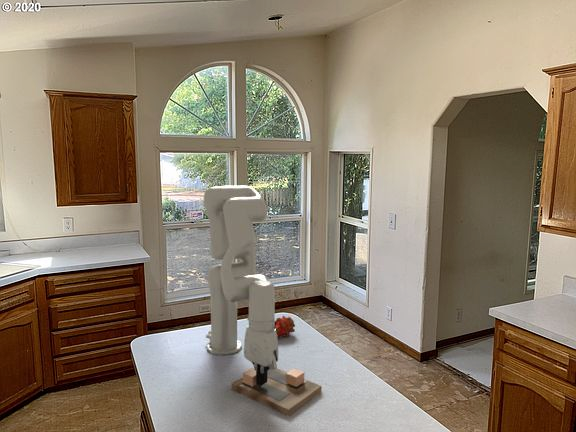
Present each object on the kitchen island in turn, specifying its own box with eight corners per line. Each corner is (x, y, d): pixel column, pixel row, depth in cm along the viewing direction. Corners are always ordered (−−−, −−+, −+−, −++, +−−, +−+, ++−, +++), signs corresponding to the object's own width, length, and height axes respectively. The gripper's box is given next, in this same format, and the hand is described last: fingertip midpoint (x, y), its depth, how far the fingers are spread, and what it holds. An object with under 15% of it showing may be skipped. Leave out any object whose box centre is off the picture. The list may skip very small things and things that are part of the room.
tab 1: (242, 382, 130) (242, 372, 130) (251, 377, 133) (251, 367, 133) (252, 386, 128) (252, 377, 127) (261, 381, 131) (261, 371, 131)
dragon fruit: (294, 335, 176) (275, 349, 167) (280, 320, 179) (261, 332, 170) (303, 322, 171) (284, 336, 162) (288, 307, 174) (269, 319, 165)
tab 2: (285, 382, 130) (285, 373, 130) (293, 377, 133) (293, 368, 133) (296, 386, 128) (296, 377, 127) (304, 381, 131) (304, 372, 131)
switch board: (231, 389, 131) (231, 383, 131) (266, 369, 143) (266, 363, 143) (288, 416, 117) (288, 409, 117) (321, 392, 130) (321, 385, 130)
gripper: (234, 321, 127) (234, 380, 130) (273, 333, 118) (273, 397, 121) (251, 314, 133) (251, 371, 136) (289, 325, 124) (289, 386, 126)
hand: (261, 383), depth 128 cm, fingers closed
